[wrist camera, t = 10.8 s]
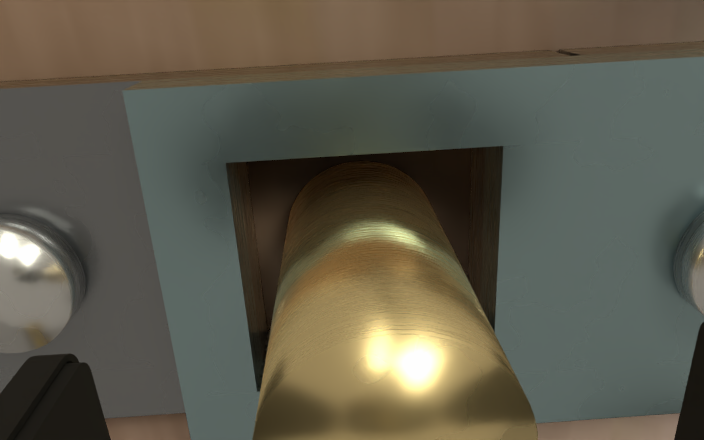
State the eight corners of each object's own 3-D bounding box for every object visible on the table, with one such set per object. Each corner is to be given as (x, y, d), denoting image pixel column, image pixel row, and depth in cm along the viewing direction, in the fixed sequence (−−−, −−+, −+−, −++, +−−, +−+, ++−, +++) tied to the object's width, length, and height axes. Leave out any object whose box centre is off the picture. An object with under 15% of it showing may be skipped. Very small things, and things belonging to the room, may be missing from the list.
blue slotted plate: (159, 72, 15) (105, 98, 11) (832, 34, 16) (991, 46, 12) (212, 380, 19) (184, 475, 15) (756, 343, 19) (859, 426, 16)
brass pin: (280, 165, 16) (233, 346, 8) (434, 155, 16) (548, 324, 8) (294, 301, 18) (266, 569, 10) (434, 291, 18) (528, 550, 10)
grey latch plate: (-140, 89, 15) (-225, 107, 13) (548, 49, 15) (587, 60, 13) (-28, 397, 19) (-78, 454, 16) (525, 358, 19) (553, 409, 17)
